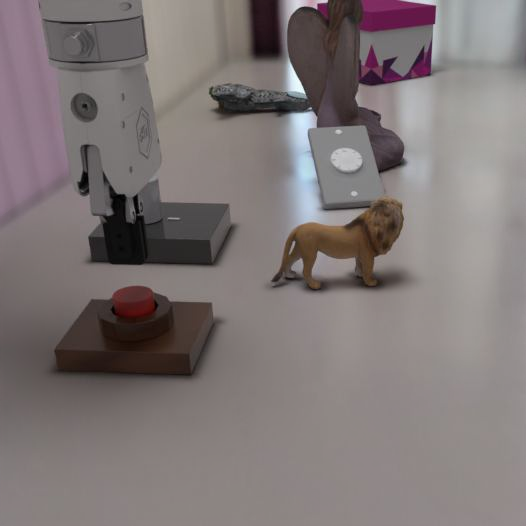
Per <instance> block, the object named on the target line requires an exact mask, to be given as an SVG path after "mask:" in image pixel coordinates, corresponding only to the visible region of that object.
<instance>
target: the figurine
mask: <svg viewBox="0 0 526 526" xmlns="http://www.w3.org/2000/svg"><path fill="white" fill-rule="evenodd" d="M326 3H327V15H328V19H326V18H325V17H324V15H323V14H322V13H321V12H320V11H319V10H317V8H315V7H312V6H306V5H304V6H300V7H298V8H296V10H294V12H292V14H291V15H290V17H289V19H288V22H287V29H286V47H287V54H288V58H289V62H290V64H291V66H292V69H293V71H294V73H295V75H296V77H297V78H298V81H299V82H300V84H301V87H302V89H303V91H304V94H306V97H307V99H308V102H309V104H310V106H311V107H310V108H311V110H312V112H313V114H314V115H315V116H316V128H325V127H344V126H366V129H367V133H368V136H369V140H370V144H371V147H372V151H373V154H374V158H375V162H376V165H377V169H378V172H381V171H384V170H386V169H391V168H393V167H395V166H398V165H399V164H400V163H401V162H402V160H403V157H404V154H405V144H404V141H402V139H401V137H400V136H398V134H396V132H395V131H393V130H391V129H389V128H386V127H383V126H382V124H381V120H382V114H380V113H379V112H377V111H375V110H373V109H369V108H368V107H364V106H359V103H358V102H357V100H356V96H357V93H358V92H359V87H360V82H359V59H360V29H359V25H360V24H361V23H362V20H363V17H364V13H363V5H362V1H361V0H327V1H326Z"/></svg>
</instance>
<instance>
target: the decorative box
mask: <svg viewBox="0 0 526 526" xmlns="http://www.w3.org/2000/svg"><path fill="white" fill-rule="evenodd" d="M361 1H362V5H363V13H364V17H363V20H362V23H361V24H360V25H359V29H360V59H359V83H361V84H365V85H370V86H374V85H379V84H385V83H390V82H397V81H401V80H402V81H403V80H409V79H414V78H419V77H420V78H421V77H425V76H431V74H432V56H433V39H434V37H433V36H434V25H436V20H437V19H436V17H437V5H436V4H435V5H434V4H428V3H421V2H414V1H407V0H361ZM316 9H317V10H319V11H320V12H321V13H322V14H323V15H324V17H325V18H326V19H328V15H327V2H318V3H316Z"/></svg>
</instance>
